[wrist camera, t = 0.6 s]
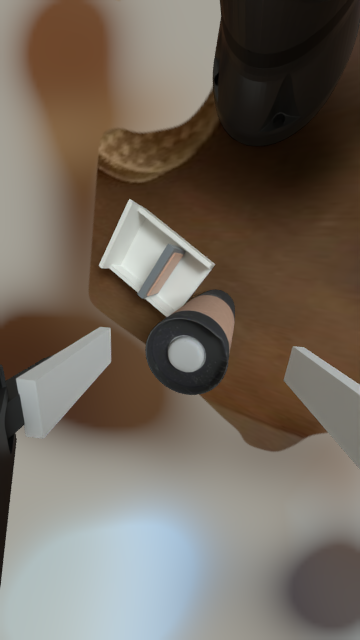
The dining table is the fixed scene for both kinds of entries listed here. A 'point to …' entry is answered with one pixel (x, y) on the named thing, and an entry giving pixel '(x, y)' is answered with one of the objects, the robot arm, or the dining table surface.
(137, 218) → the white open box
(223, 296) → the travel mug
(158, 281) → the block
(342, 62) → the robot arm
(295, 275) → the dining table surface
